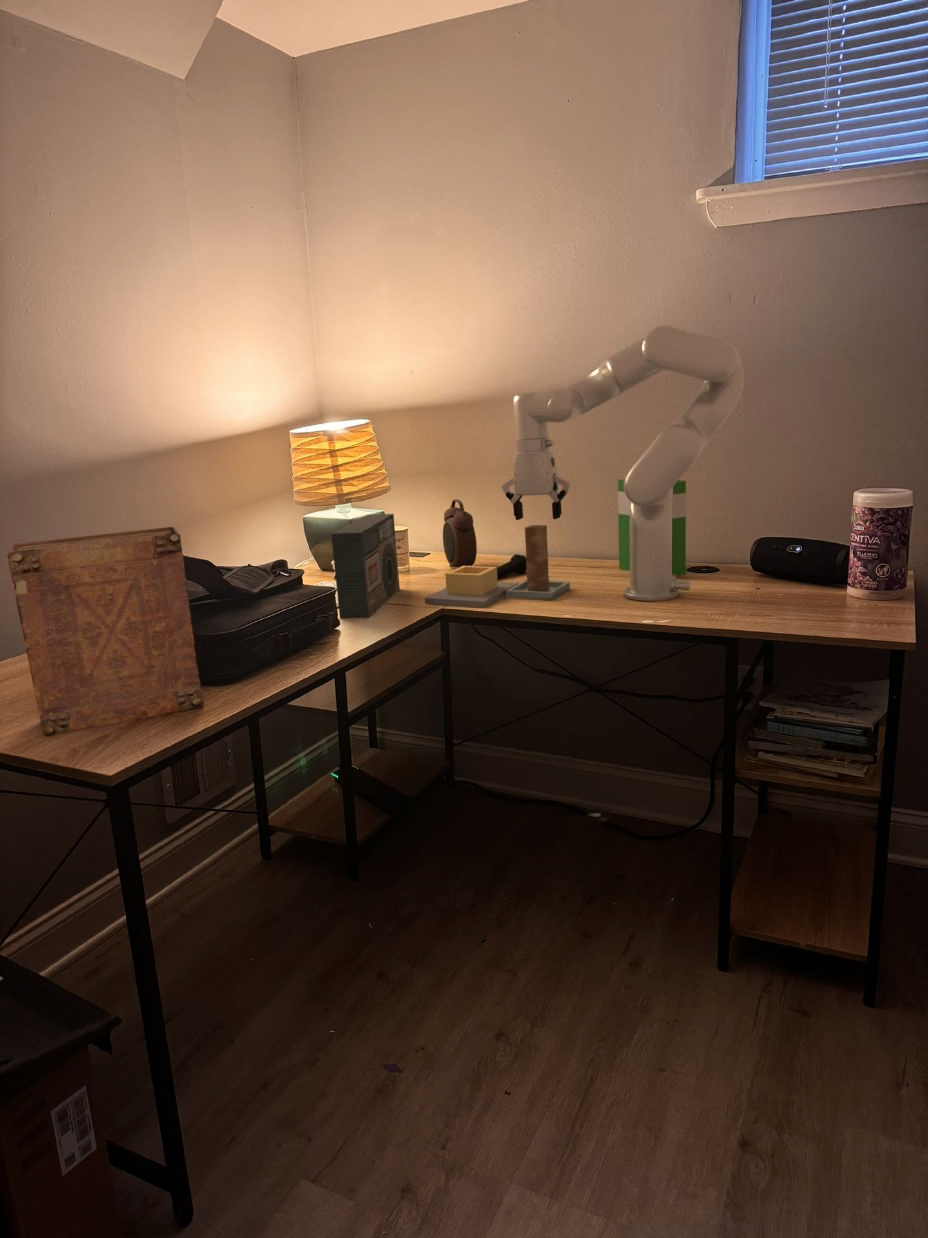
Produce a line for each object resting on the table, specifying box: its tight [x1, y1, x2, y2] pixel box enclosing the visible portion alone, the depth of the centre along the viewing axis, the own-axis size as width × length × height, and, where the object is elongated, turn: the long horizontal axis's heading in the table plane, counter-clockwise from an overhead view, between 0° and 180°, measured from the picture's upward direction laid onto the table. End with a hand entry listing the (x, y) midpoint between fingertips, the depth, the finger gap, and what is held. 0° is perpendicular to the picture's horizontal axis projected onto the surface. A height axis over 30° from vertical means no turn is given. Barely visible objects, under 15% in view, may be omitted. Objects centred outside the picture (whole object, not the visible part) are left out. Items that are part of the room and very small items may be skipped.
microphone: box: [496, 553, 527, 580], centre depth 231 cm, size 6×6×20 cm
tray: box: [505, 579, 571, 602], centre depth 211 cm, size 12×12×2 cm
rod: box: [524, 524, 550, 592], centre depth 209 cm, size 4×4×16 cm
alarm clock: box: [442, 498, 478, 569], centre depth 243 cm, size 15×7×20 cm, turn 17°
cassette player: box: [330, 513, 401, 619], centre depth 211 cm, size 29×7×20 cm, turn 170°
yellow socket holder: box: [424, 565, 519, 609], centre depth 212 cm, size 16×20×6 cm
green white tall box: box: [617, 479, 687, 577], centre depth 225 cm, size 18×7×24 cm, turn 29°
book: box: [7, 526, 205, 737], centre depth 142 cm, size 25×9×30 cm, turn 112°
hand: (537, 518), depth 207 cm, fingers open, 9 cm apart
